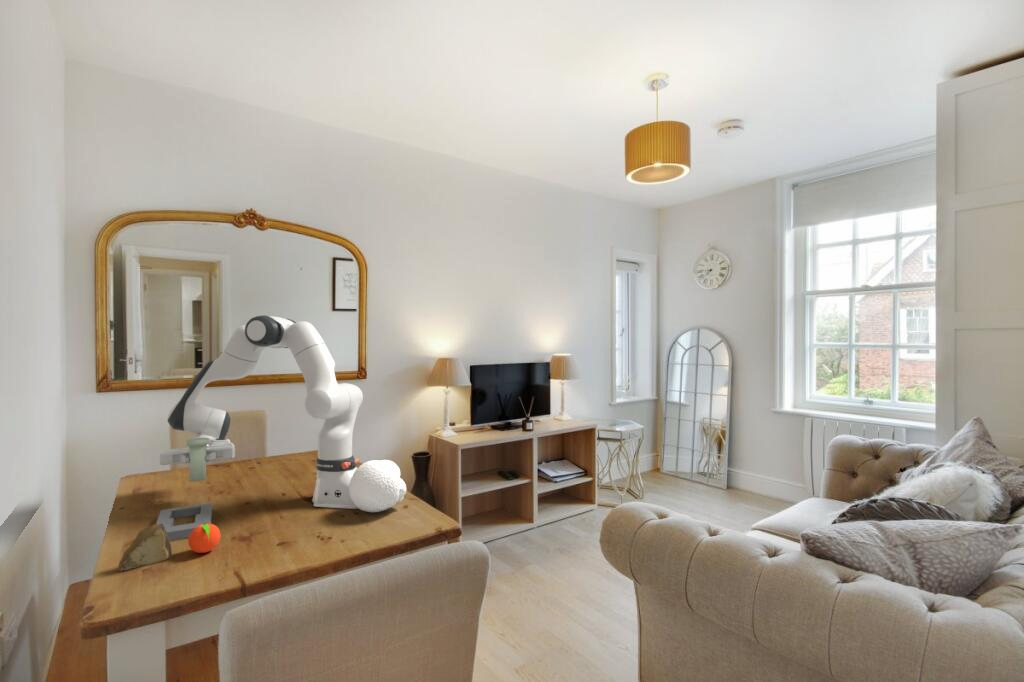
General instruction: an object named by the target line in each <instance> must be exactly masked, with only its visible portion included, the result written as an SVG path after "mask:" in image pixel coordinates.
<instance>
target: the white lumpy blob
mask: <svg viewBox="0 0 1024 682" xmlns="http://www.w3.org/2000/svg"><path fill="white" fill-rule="evenodd" d="M406 493H407V484H406V483H405V481H404V480H403V478H401V469H400V467H399V466H398V465H397V463H395V461H392V460H390V459H382V460H376V459H374V460H373V459H371V460H368V461H366V462H363V463H362V464H360V465H359V466H358V467H357V469H356V471H355V472H354V474H353V475H352V478H351V481H350V484H349V494H350V496H351V499H352V501H353V503H354V504H355V505H356V506H357V507H358V508H357V509H359V510H360V511H363V512H368V513H380V512H383V511H386V510H389V509H390V508H392V507H394V506H395V505H396V504H398V502H399V503H400V502H402V501H403V500H404V497H405V495H406Z"/></svg>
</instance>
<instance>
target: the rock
mask: <svg viewBox="0 0 1024 682" xmlns="http://www.w3.org/2000/svg"><path fill="white" fill-rule="evenodd" d="M137 534H138V535H136V537H135V539H134V540H133V541H132V542H131V544H130V545H129V547H128V548H126V550H124V552H123V554H122V557H121V559H120V561H119V563H118V572H123V570H124V571H127V570H132V568H133V569H136V567H137V568H141V567H145V566H149V565H152V564H153V565H154V564H156V563H159V562H163V561H166V560H168V559H169V558H171V557H172V554H173V551H172V544H171V541H170V540H169V538H168V535H167V532H166V530H165V527H164V526H163V524H156V523H155V524H152V525H149V526H148V527H146V528H144V529H142V530H140V531H139V532H138V533H137ZM140 566H141V567H140Z"/></svg>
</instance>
